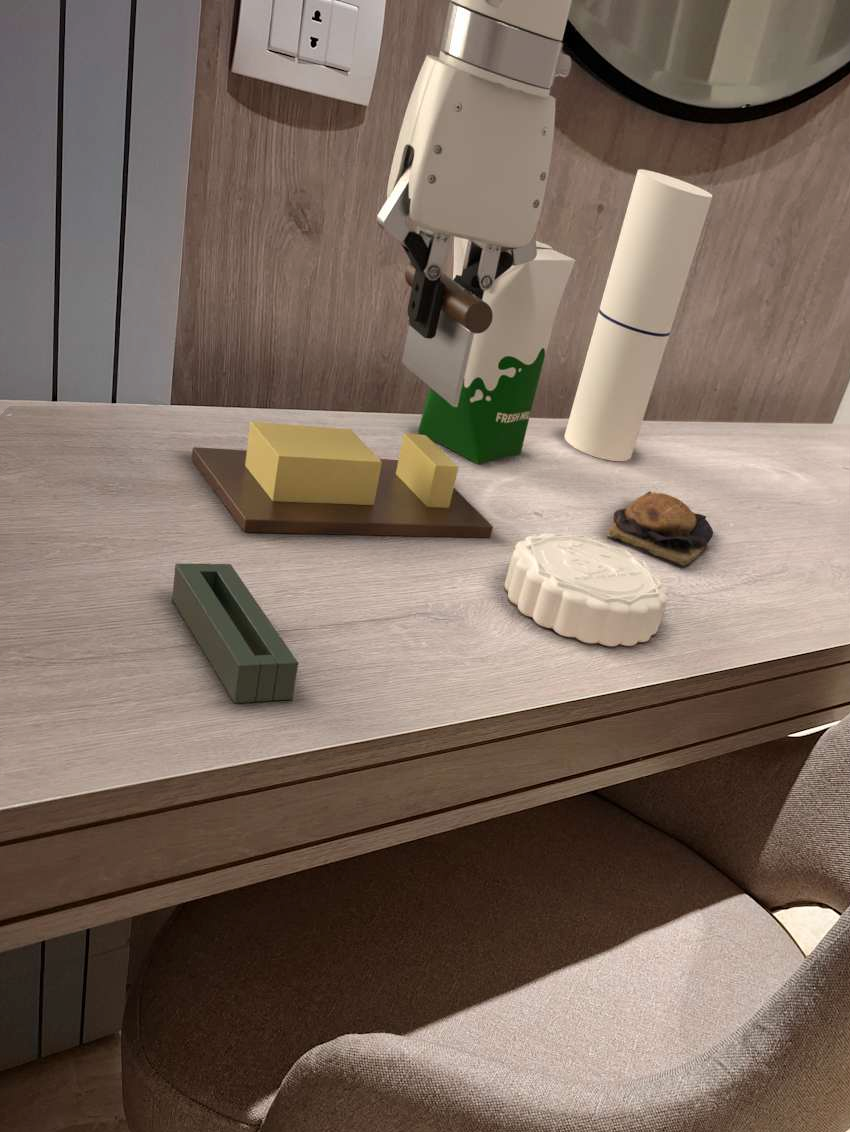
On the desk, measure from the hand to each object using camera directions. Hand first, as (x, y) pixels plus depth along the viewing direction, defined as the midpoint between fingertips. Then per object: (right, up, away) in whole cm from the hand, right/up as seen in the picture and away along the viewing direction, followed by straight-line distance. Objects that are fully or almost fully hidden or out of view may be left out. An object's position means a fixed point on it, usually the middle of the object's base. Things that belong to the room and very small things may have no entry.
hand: (438, 332), depth 88 cm
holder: (-10, -26, -18) cm, 33 cm away
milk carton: (0, -1, +23) cm, 23 cm away
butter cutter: (-1, -3, +2) cm, 4 cm away
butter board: (-8, -11, +4) cm, 14 cm away
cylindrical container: (+11, +2, +33) cm, 35 cm away
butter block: (-10, -11, +2) cm, 15 cm away
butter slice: (-2, -10, +8) cm, 13 cm away
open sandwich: (+17, -11, +18) cm, 27 cm away
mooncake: (+10, -20, +1) cm, 23 cm away
